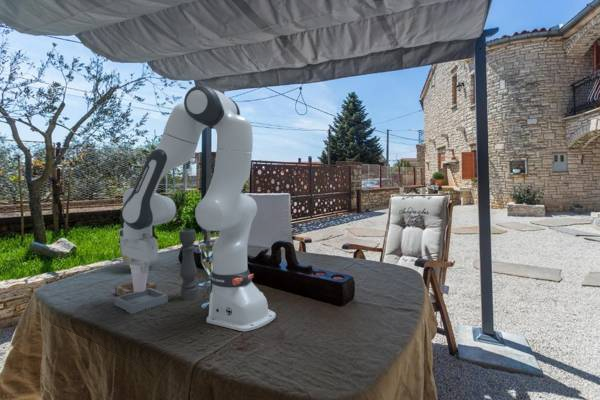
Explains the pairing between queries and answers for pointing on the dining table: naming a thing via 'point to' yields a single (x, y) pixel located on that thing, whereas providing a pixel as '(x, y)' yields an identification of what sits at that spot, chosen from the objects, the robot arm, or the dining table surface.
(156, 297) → the tray
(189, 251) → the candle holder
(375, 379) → the dining table surface
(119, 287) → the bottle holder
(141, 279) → the smoothie
